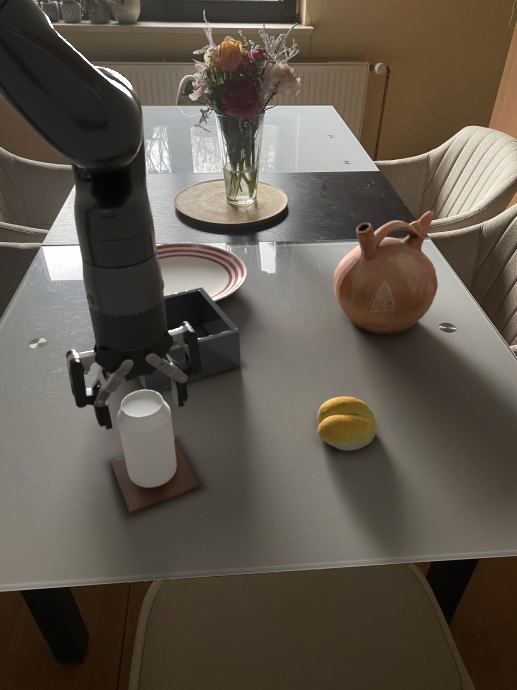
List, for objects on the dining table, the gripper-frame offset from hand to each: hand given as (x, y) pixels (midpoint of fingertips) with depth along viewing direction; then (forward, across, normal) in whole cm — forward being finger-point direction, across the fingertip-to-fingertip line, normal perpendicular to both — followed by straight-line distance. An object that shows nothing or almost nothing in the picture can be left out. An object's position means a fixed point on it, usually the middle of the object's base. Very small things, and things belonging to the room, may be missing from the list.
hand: (143, 413), depth 63 cm
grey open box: (+11, -12, -24) cm, 29 cm away
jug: (+11, -50, -18) cm, 54 cm away
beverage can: (+11, 0, 0) cm, 11 cm away
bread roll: (+11, -27, +4) cm, 30 cm away
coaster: (+11, 0, 0) cm, 11 cm away
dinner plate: (+11, -21, -47) cm, 53 cm away
